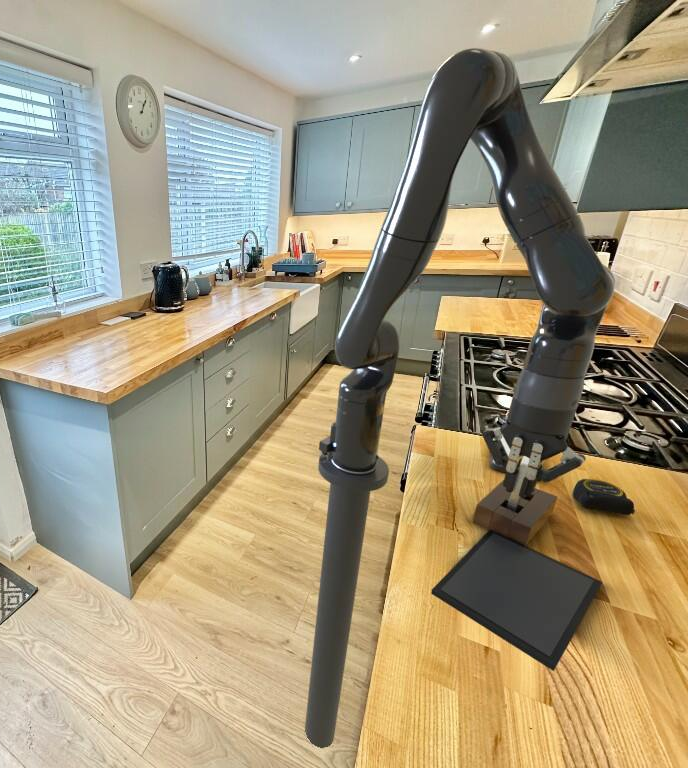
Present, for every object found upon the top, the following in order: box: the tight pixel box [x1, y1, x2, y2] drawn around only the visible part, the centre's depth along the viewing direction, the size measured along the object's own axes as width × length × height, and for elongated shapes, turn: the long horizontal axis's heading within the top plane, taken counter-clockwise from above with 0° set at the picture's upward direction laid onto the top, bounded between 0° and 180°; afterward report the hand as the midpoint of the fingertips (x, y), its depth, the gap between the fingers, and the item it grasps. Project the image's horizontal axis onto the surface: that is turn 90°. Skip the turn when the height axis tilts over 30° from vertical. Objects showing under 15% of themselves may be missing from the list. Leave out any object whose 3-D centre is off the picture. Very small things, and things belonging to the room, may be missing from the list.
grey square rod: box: [507, 464, 528, 512], centre depth 70 cm, size 1×1×10 cm
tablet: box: [430, 529, 603, 672], centre depth 60 cm, size 14×20×1 cm
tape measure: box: [572, 478, 636, 516], centre depth 75 cm, size 7×7×4 cm
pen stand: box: [471, 479, 559, 546], centre depth 73 cm, size 8×13×4 cm, turn 125°
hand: (516, 492), depth 70 cm, fingers closed on grey square rod, 1 cm apart
